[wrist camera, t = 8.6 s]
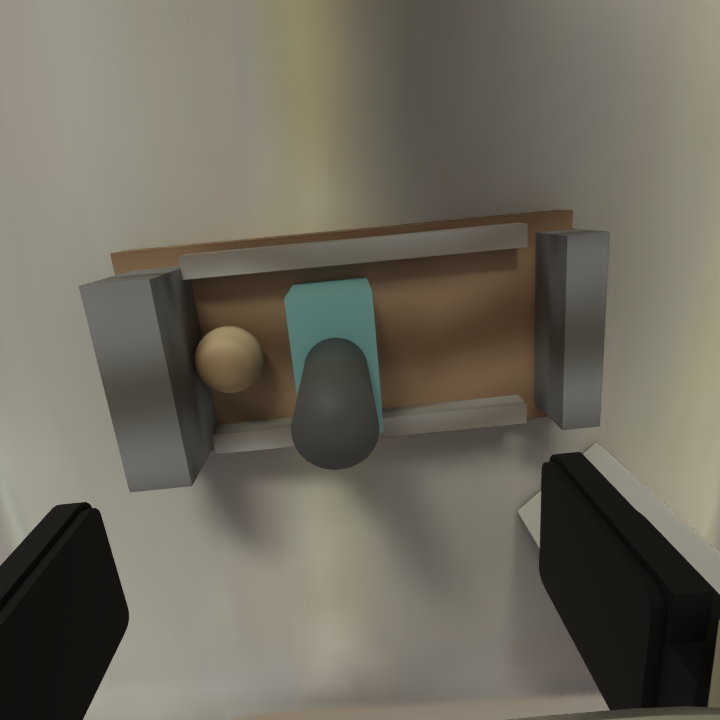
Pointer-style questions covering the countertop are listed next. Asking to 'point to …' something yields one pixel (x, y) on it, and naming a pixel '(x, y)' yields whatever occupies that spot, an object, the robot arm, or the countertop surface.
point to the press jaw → (334, 371)
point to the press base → (392, 325)
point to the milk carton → (682, 536)
